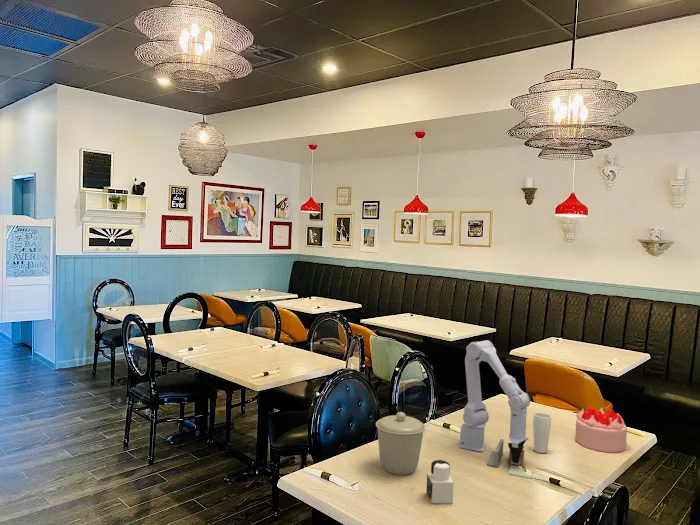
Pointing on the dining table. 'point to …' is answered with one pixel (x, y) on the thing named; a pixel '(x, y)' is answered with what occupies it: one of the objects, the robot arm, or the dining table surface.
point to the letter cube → (519, 459)
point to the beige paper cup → (541, 431)
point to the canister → (399, 443)
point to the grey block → (496, 455)
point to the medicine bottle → (440, 483)
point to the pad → (518, 472)
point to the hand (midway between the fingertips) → (516, 459)
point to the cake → (601, 430)
